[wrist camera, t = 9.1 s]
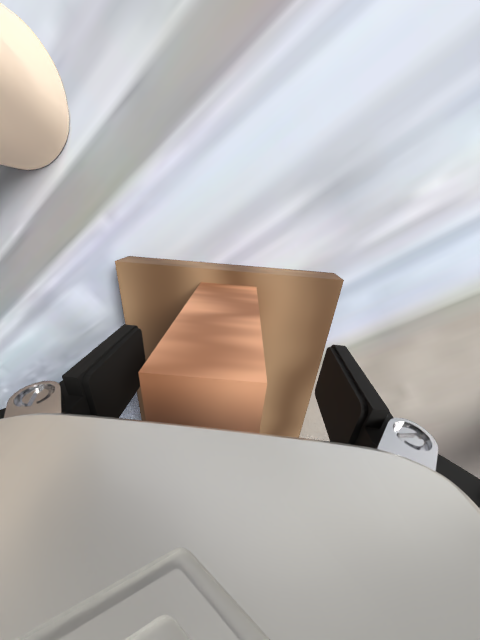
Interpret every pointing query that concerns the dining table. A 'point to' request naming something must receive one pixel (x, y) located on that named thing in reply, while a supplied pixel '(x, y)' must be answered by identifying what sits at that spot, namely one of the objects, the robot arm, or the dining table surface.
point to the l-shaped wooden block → (209, 363)
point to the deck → (275, 316)
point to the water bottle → (29, 98)
